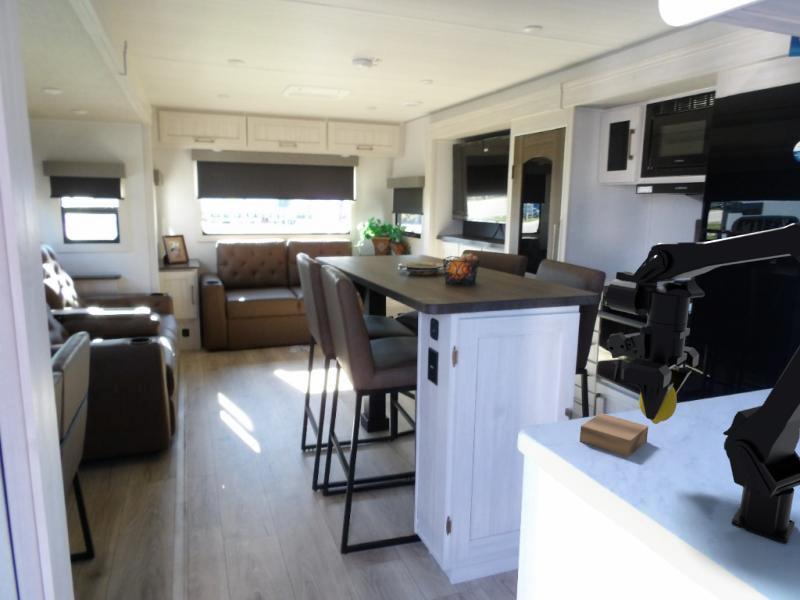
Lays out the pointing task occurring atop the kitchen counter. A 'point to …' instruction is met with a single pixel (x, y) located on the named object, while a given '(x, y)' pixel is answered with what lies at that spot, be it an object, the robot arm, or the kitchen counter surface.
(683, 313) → the robot arm
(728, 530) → the kitchen counter surface
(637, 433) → the walnut block
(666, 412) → the lemon
